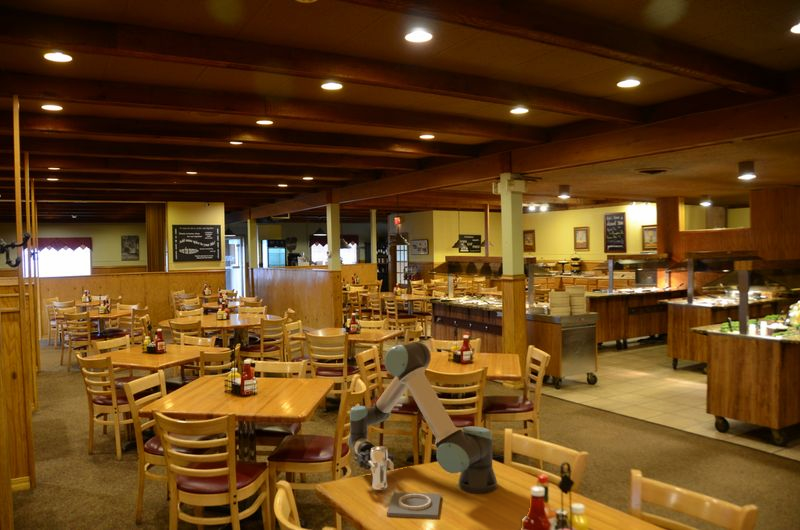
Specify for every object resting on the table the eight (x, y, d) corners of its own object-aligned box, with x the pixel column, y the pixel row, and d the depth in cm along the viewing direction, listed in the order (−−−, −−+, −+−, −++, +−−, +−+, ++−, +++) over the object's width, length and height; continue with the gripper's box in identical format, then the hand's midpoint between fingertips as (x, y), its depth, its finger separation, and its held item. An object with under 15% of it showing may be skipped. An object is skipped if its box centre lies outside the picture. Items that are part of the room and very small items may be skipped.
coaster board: (440, 497, 223) (440, 491, 223) (437, 518, 205) (437, 512, 205) (393, 495, 225) (393, 489, 225) (386, 516, 207) (386, 509, 207)
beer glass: (386, 491, 225) (385, 452, 225) (368, 490, 226) (368, 451, 226) (390, 484, 232) (389, 446, 232) (373, 483, 233) (372, 445, 233)
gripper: (387, 455, 249) (407, 474, 228) (343, 462, 242) (359, 482, 221) (387, 438, 249) (407, 455, 228) (342, 444, 242) (358, 462, 221)
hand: (383, 468), depth 224 cm, fingers closed on beer glass, 7 cm apart
